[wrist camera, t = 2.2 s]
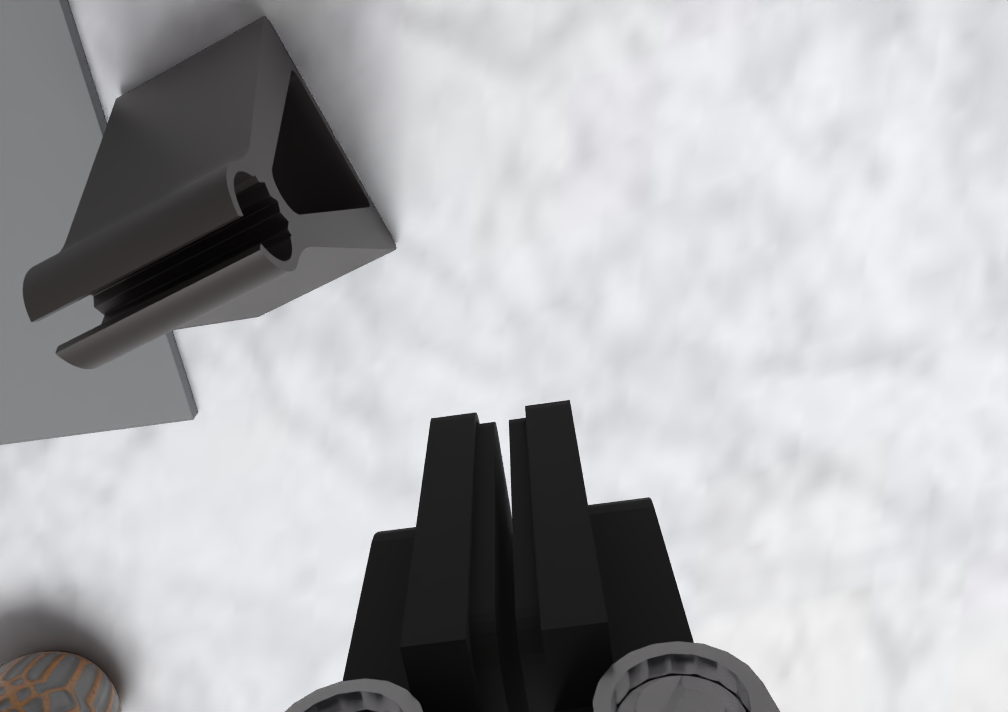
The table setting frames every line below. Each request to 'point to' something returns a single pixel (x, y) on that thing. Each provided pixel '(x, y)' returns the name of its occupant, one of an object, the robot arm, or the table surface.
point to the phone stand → (208, 203)
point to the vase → (55, 685)
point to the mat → (60, 244)
